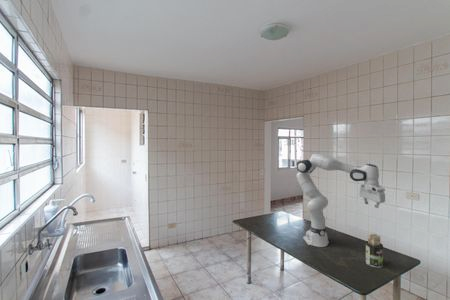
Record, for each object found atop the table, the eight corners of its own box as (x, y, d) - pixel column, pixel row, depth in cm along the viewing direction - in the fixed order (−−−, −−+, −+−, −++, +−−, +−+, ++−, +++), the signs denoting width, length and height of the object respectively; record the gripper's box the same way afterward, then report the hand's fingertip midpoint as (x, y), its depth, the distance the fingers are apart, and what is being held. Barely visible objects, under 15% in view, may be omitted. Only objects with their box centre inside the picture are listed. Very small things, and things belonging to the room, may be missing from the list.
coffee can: (386, 265, 162) (386, 245, 161) (376, 269, 158) (376, 248, 157) (372, 258, 171) (371, 239, 171) (362, 262, 167) (362, 242, 167)
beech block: (368, 242, 166) (368, 234, 166) (374, 242, 167) (374, 233, 167) (373, 245, 161) (373, 237, 161) (380, 245, 162) (380, 236, 162)
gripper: (357, 184, 180) (357, 202, 181) (378, 190, 160) (378, 210, 161) (364, 183, 181) (364, 201, 182) (387, 189, 161) (386, 209, 162)
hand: (371, 205), depth 171 cm, fingers open, 8 cm apart
